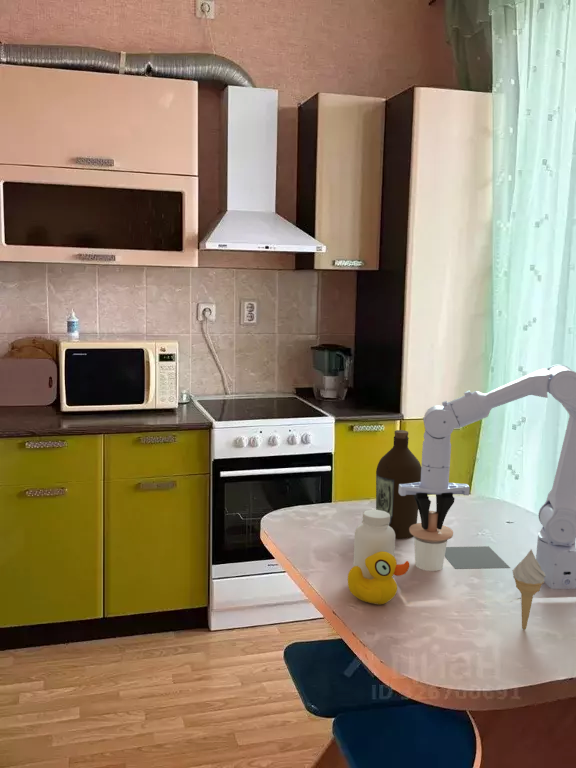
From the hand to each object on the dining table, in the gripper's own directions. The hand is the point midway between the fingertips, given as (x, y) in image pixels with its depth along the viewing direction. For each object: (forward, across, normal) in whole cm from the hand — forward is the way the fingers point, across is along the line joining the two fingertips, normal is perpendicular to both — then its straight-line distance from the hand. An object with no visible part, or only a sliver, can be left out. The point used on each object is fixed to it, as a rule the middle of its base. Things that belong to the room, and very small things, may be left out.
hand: (431, 527), depth 157 cm
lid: (+1, 0, 0) cm, 1 cm away
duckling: (+9, +15, +15) cm, 23 cm away
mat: (+9, -11, -4) cm, 15 cm away
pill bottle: (+9, +14, +8) cm, 19 cm away
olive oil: (+9, +2, -20) cm, 22 cm away
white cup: (+9, 0, 0) cm, 9 cm away
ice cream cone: (+9, -9, +27) cm, 30 cm away
